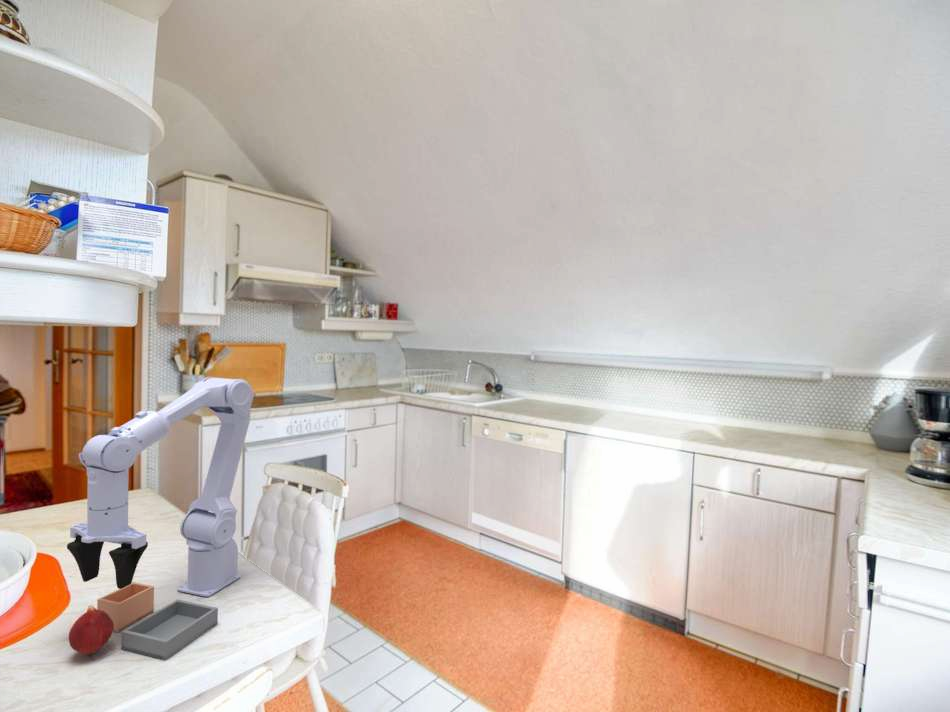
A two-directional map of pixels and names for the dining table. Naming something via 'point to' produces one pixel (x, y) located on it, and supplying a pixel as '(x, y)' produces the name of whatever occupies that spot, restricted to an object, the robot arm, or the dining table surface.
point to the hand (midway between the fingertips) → (107, 582)
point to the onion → (91, 631)
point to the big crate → (169, 629)
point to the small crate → (128, 604)
